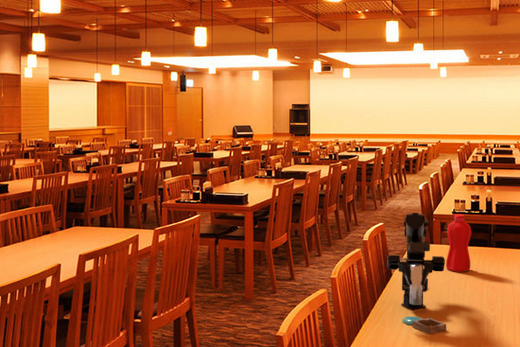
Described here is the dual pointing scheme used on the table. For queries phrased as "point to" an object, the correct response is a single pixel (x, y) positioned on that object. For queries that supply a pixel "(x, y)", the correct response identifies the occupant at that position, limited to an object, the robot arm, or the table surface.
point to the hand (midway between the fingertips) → (416, 285)
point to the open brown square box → (424, 327)
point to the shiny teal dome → (410, 320)
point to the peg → (416, 284)
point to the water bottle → (458, 244)
